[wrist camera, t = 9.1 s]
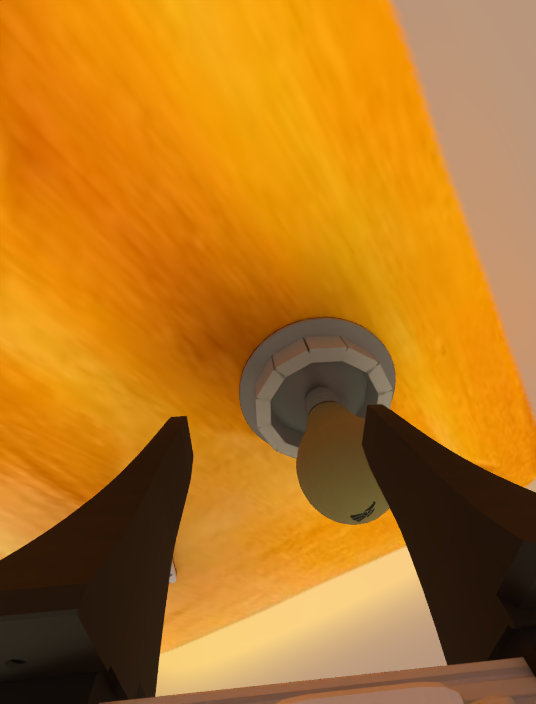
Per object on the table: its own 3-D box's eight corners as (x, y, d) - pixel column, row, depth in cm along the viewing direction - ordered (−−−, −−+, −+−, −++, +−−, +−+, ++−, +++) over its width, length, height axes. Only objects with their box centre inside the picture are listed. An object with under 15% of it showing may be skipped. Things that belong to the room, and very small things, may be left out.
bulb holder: (381, 444, 27) (394, 466, 25) (244, 454, 26) (244, 477, 24) (404, 313, 22) (422, 325, 20) (234, 321, 21) (232, 335, 19)
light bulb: (337, 431, 25) (388, 555, 16) (273, 417, 24) (290, 542, 15) (366, 374, 23) (444, 481, 14) (297, 355, 22) (334, 459, 13)
